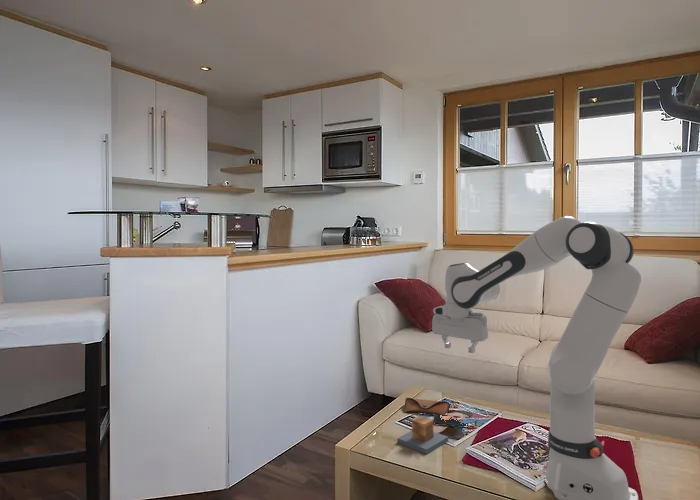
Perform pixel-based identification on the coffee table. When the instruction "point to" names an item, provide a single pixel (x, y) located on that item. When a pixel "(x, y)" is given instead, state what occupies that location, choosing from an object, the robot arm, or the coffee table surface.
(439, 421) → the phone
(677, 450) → the coffee table surface
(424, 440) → the block
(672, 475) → the coffee table surface
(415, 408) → the sunglasses case
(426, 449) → the carrier plate
